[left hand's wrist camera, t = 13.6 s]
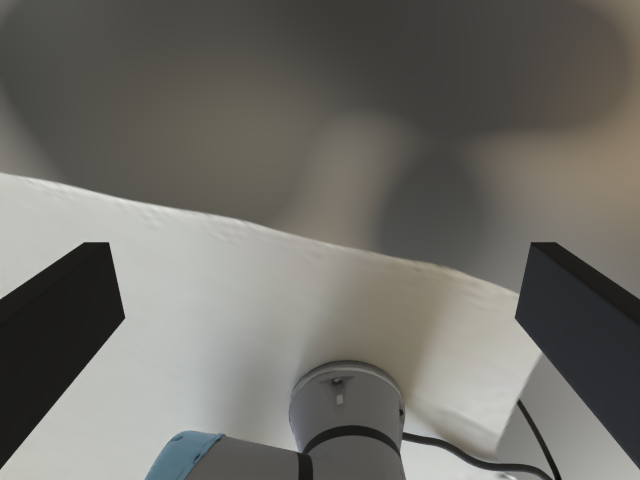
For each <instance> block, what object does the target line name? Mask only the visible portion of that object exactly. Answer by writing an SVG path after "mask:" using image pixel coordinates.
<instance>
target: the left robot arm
mask: <svg viewBox="0 0 640 480" xmlns="http://www.w3.org/2000/svg"><path fill="white" fill-rule="evenodd" d="M124 319H125V315H124V310H123V306H122V301H121V296H120V292H119V287H118V282H117V278H116V273H115V268H114V264H113V259H112V254H111V250H110V245H109V242H84V243H83V244H81V245H80V246H78V247H77V248H75V249H74V250H72V251H71V252H69V253H68V254H66V255H65V256H63V257H62V258H61V259H59V260H58V261H56V262H55V263H53V264H52V265H50V266H49V267H47V268H46V269H44V270H43V271H41V272H40V273H38V274H37V275H36V276H34V277H33V278H31V279H30V280H28V281H27V282H25V283H24V284H22V285H21V286H19V287H18V288H16V289H15V290H13V291H12V292H11V293H9V294H8V295H6V296H5V297H3V298H2V299H0V469H1V468H2V467H3V466H4V464H5V463H6V462H7V461H8V460H9V458H10V457H11V456H12V455H13V454H14V452H15V451H16V450H17V449H18V447H19V446H20V445H21V444H22V443H23V441H24V440H25V439H26V438H27V437H28V435H29V434H30V433H31V432H32V430H33V429H34V428H35V427H36V426H37V424H38V423H39V422H40V421H41V420H42V418H43V417H44V416H45V415H46V414H47V412H48V411H49V410H50V409H51V407H52V406H53V405H54V404H55V403H56V401H57V400H58V399H59V398H60V397H61V395H62V394H63V393H64V392H65V391H66V389H67V388H68V387H69V386H70V384H71V383H72V382H73V381H74V380H75V378H76V377H77V376H78V375H79V374H80V372H81V371H82V370H83V369H84V367H85V366H86V365H87V364H88V363H89V361H90V360H91V359H92V358H93V357H94V355H95V354H96V353H97V352H98V351H99V349H100V348H101V347H102V346H103V344H104V343H105V342H106V341H107V340H108V338H109V337H110V336H111V335H112V334H113V332H114V331H115V330H116V329H117V327H118V326H119V325H120V324H121V323H122V321H123V320H124ZM515 319H516V320H517V321H518V323H519V324H520V325H521V326H522V327H523V329H524V330H525V331H526V332H527V334H528V335H529V336H530V337H531V338H532V340H533V341H534V342H535V343H536V344H537V346H538V347H539V348H540V349H541V351H542V352H543V353H544V354H545V355H546V357H547V358H548V359H549V360H550V361H551V363H552V364H553V365H554V366H555V367H556V369H557V370H558V371H559V372H560V374H561V375H562V376H563V377H564V378H565V380H566V381H567V382H568V383H569V384H570V386H571V387H572V388H573V389H574V391H575V392H576V393H577V394H578V395H579V397H580V398H581V399H582V400H583V401H584V403H585V404H586V405H587V406H588V407H589V409H590V410H591V411H592V412H593V414H594V415H595V416H596V417H597V418H598V420H599V421H600V422H601V423H602V424H603V426H604V427H605V428H606V429H607V431H608V432H609V433H610V434H611V435H612V437H613V438H614V439H615V440H616V441H617V443H618V444H619V445H620V446H621V447H622V449H623V450H624V451H625V452H626V454H627V455H628V456H629V457H630V458H631V460H632V461H633V462H634V463H635V464H636V466H637V467H638V468H639V469H640V299H638V298H637V297H635V296H634V295H632V294H631V293H629V292H628V291H627V290H625V289H623V288H622V287H621V286H619V285H618V284H616V283H615V282H613V281H612V280H610V279H609V278H607V277H606V276H604V275H603V274H602V273H600V272H599V271H597V270H596V269H594V268H593V267H591V266H590V265H588V264H587V263H585V262H584V261H582V260H581V259H579V258H578V257H577V256H575V255H574V254H572V253H571V252H569V251H568V250H566V249H565V248H563V247H562V246H560V245H559V244H557V243H556V242H531V245H530V250H529V254H528V259H527V264H526V268H525V273H524V278H523V282H522V287H521V292H520V296H519V301H518V306H517V310H516V315H515ZM516 403H517V405H518V407H519V408H520V410H521V412H522V413H523V415H524V417H525V418H526V420H527V422H528V424H529V425H530V427H531V429H532V431H533V433H534V435H535V437H536V439H537V441H538V443H539V444H540V447H541V449H542V451H543V453H544V455H545V457H546V459H547V461H548V464H549V466H550V468H551V470H552V473H553V475H554V478H555V480H562V478H561V476H560V473H559V471H558V468H557V466H556V464H555V462H554V460H553V458H552V456H551V454H550V452H549V450H548V447H547V446H546V443H545V442H544V440H543V438H542V436H541V434H540V432H539V430H538V428H537V427H536V425H535V423H534V421H533V420H532V418H531V416H530V415H529V413H528V411H527V410H526V408H525V406H524V405H523V403H522V402H521V400H520V399H519V397H518V399H517V401H516ZM404 420H405V407H404V403H403V399H402V395H401V392H400V389H399V387H398V386H397V384H396V383H395V381H394V380H393V379H392V378H391V377H390V376H389V375H388V374H387V373H385V372H384V371H382V370H381V369H379V368H377V367H375V366H372V365H369V364H366V363H361V362H354V361H340V362H334V363H329V364H326V365H323V366H320V367H318V368H316V369H314V370H312V371H311V372H309V373H308V374H307V375H305V376H304V377H303V378H302V379H301V380H300V381H299V382H298V384H297V385H296V387H295V388H294V390H293V393H292V395H291V399H290V408H289V422H290V426H291V429H292V432H293V434H294V436H295V440H296V444H297V447H298V451H299V453H298V452H295V451H290V450H286V449H281V448H276V447H272V446H267V445H262V444H258V443H253V442H248V441H244V440H239V439H235V438H231V437H226V436H225V434H221V433H219V434H217V435H216V434H209V433H203V432H196V431H184V432H181V433H179V434H177V435H176V436H174V437H173V438H172V439H171V440H170V441H169V442H168V443H167V445H166V446H165V447H164V449H163V450H162V451H161V453H160V454H159V456H158V457H157V459H156V461H155V462H154V464H153V466H152V467H151V469H150V471H149V473H148V475H147V476H146V478H145V480H406V478H405V473H404V469H403V465H402V460H401V455H400V448H401V441H402V440H406V441H410V442H415V443H420V444H426V445H433V446H437V447H441V448H443V449H445V450H448V451H449V452H451V453H453V454H455V455H456V456H458V457H459V458H461V459H462V460H464V461H465V462H467V463H469V464H471V465H473V466H476V467H478V468H482V469H486V470H491V471H519V472H528V473H532V474H535V475H537V476H538V477H540V478H541V479H542V480H552V479H551V478H550V477H549V476H548V475H547V474H546V473H545V472H543V471H542V470H540V469H538V468H536V467H533V466H529V465H524V464H496V463H487V462H483V461H480V460H477V459H475V458H473V457H471V456H469V455H468V454H466V453H464V452H463V451H461V450H460V449H458V448H457V447H455V446H454V445H452V444H450V443H448V442H445V441H443V440H440V439H435V438H430V437H423V436H418V435H413V434H409V433H405V432H403V427H404Z"/></svg>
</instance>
